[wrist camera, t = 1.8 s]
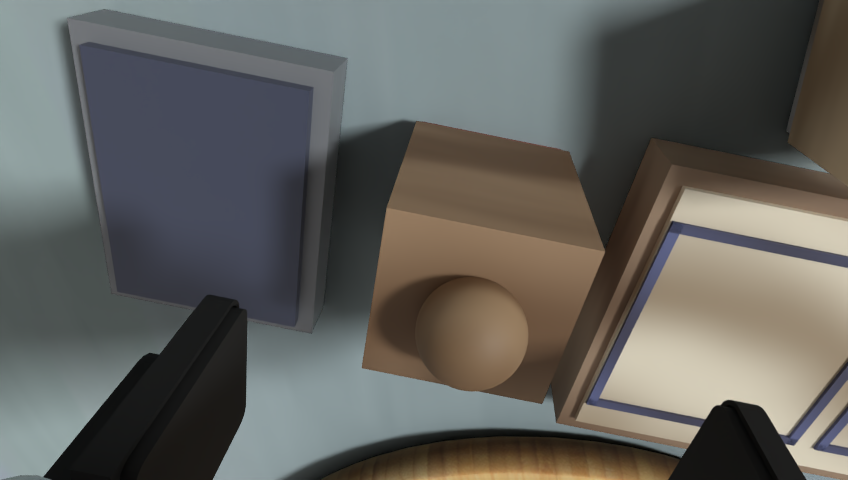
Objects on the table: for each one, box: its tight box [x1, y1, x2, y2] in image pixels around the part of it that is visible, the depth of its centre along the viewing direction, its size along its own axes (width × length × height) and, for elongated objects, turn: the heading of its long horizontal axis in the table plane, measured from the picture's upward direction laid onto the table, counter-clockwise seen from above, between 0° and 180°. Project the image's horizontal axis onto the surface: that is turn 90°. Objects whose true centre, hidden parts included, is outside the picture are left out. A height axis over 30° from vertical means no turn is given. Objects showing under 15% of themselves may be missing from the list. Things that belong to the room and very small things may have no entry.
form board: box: [551, 138, 848, 480], centre depth 17 cm, size 10×16×2 cm, turn 80°
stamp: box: [362, 121, 605, 404], centre depth 14 cm, size 4×4×8 cm
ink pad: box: [67, 9, 348, 334], centre depth 17 cm, size 9×7×2 cm
